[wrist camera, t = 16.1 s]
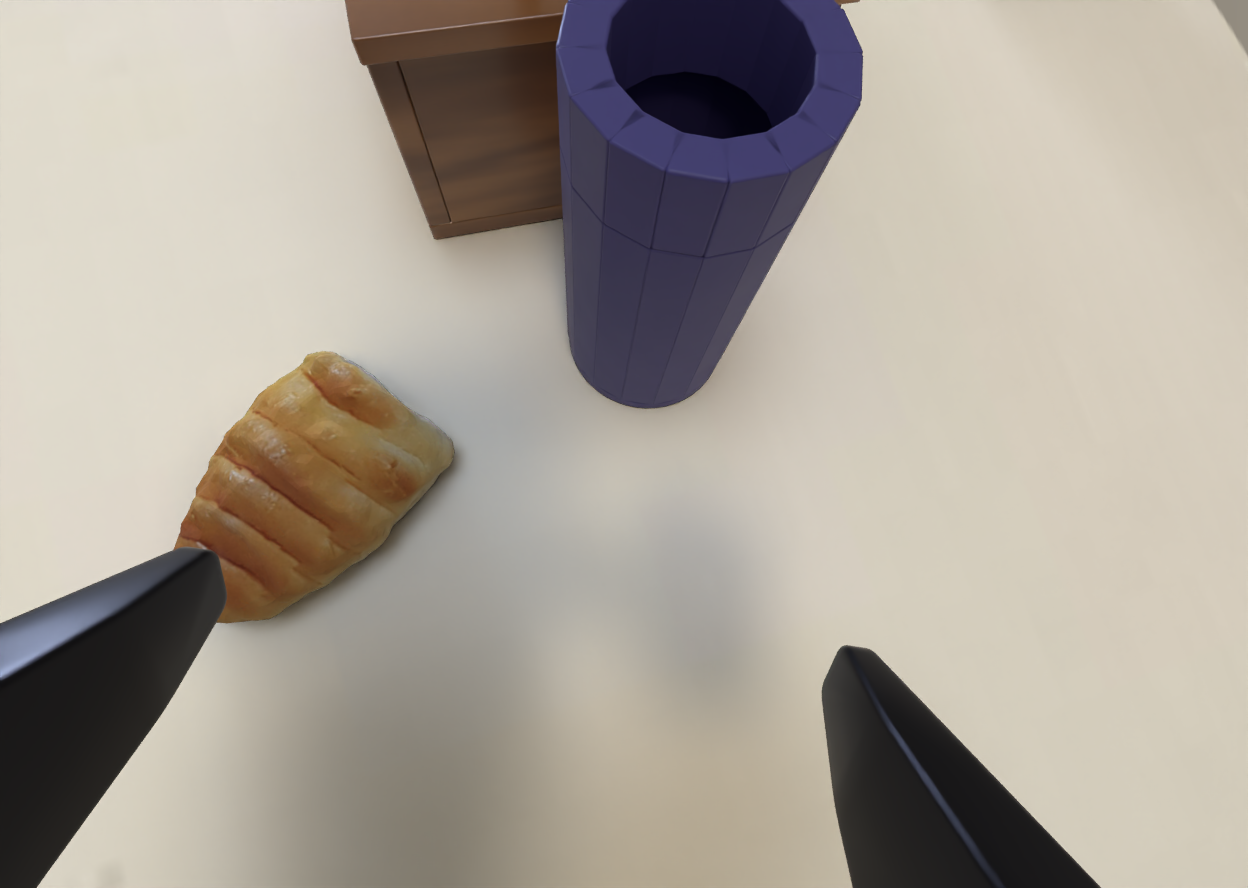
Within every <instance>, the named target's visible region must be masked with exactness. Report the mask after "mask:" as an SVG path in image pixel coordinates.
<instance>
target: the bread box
mask: <svg viewBox="0 0 1248 888" xmlns="http://www.w3.org/2000/svg"><path fill="white" fill-rule="evenodd" d="M838 5H839V6H840V7H841V4H838ZM556 44H557V41H551V42H543V43H536V44H528V45H520V46H512V47H505V48H497V49H489V50H481V51H474V52H466V53H458V54H450V55H443V56H435V57H427V58H419V59H412V60H404V61H396V62H388V63H380V64H373V65H367V68H368V70H369V73H370V75H371V78H372V80H373V83H374V85H375V88H376V91H377V93H378V96H379V98H380V101H381V103H382V106H383V109H384V111H385V114H386V116H387V119H388V121H389V124H390V126H391V129H392V132H393V134H394V137H395V139H396V142H397V144H398V147H399V150H400V152H401V155H402V157H403V160H404V162H405V165H406V167H407V170H408V173H409V175H410V178H411V180H412V183H413V185H414V188H415V191H416V193H417V196H418V198H419V201H420V203H421V206H422V208H423V211H424V214H425V216H426V219H427V221H428V224H429V227H430V229H431V232H432V234H433V237H434V238H435V239H440V238H446V237H452V236H458V235H464V234H469V233H475V232H481V231H487V230H493V229H499V228H505V227H511V226H517V225H523V224H528V223H534V222H540V221H546V220H552V219H558V218H563V210H562V187H561V165H560V138H559V115H558V92H557V69H556Z"/></svg>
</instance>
